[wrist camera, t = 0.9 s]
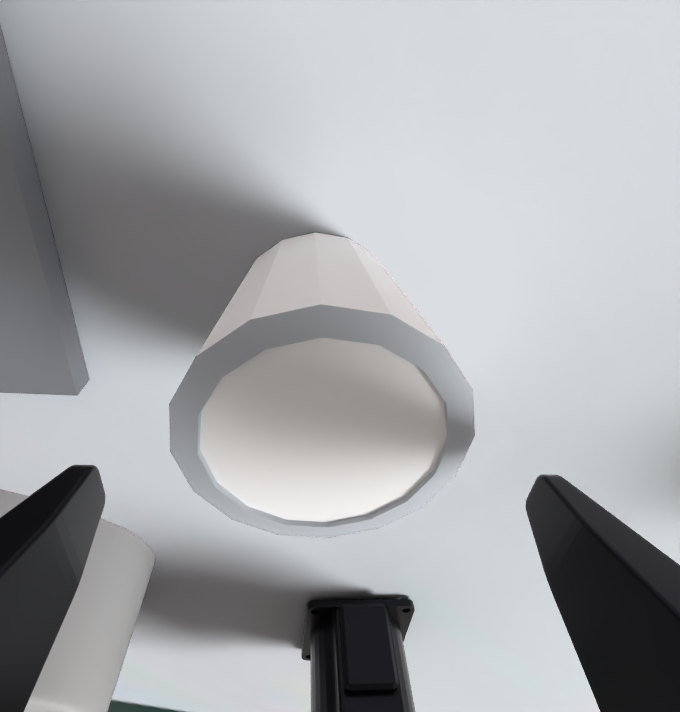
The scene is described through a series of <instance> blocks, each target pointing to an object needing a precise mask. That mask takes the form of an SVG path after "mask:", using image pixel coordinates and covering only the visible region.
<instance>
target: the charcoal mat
mask: <svg viewBox="0 0 680 712" xmlns="http://www.w3.org/2000/svg"><path fill="white" fill-rule="evenodd" d="M88 381H89V377H88V373H87V369H86V365H85V361H84V357H83V353H82V349H81V345H80V341H79V337H78V333H77V329H76V325H75V321H74V317H73V313H72V309H71V305H70V301H69V297H68V293H67V289H66V285H65V281H64V277H63V273H62V269H61V265H60V261H59V257H58V253H57V249H56V245H55V241H54V237H53V233H52V229H51V225H50V221H49V217H48V213H47V209H46V205H45V201H44V197H43V193H42V189H41V185H40V181H39V177H38V173H37V169H36V166H35V162H34V158H33V154H32V150H31V146H30V142H29V138H28V134H27V130H26V126H25V122H24V118H23V114H22V110H21V106H20V102H19V98H18V94H17V90H16V86H15V82H14V78H13V74H12V70H11V66H10V62H9V58H8V54H7V50H6V46H5V42H4V38H3V34H2V30H1V26H0V393H27V394H53V395H78V394H79V393H80V391H81V390H82V389H83V387H84V386H85V385H86V383H87V382H88Z"/></svg>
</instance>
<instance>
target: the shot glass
mask: <svg viewBox="0 0 680 712" xmlns="http://www.w3.org/2000/svg"><path fill="white" fill-rule="evenodd" d="M169 414H170V452H171V454H172V455H173V457H174V459H175V460H176V462H177V464H178V465H179V467H180V469H181V471H182V472H183V474H184V476H185V477H186V479H187V481H188V483H189V484H190V486H191V488H192V489H193V491H194V492H195V493H197V494H198V495H199V496H201V497H202V498H204V499H205V500H206V501H208V502H209V503H210V504H212V505H213V506H214V507H216V508H217V509H218V510H220V511H221V512H222V513H224V514H225V515H227V516H228V517H229V518H231V519H232V520H235V521H238V522H241V523H244V524H247V525H250V526H253V527H256V528H259V529H262V530H265V531H268V532H271V533H274V534H277V535H288V536H305V537H322V538H331V537H336V536H341V535H346V534H352V533H357V532H362V531H368V530H373V529H378V528H380V527H382V526H384V525H386V524H388V523H390V522H393V521H395V520H397V519H399V518H401V517H403V516H405V515H407V514H409V513H411V512H413V511H416V510H418V509H420V508H422V507H423V506H424V505H425V504H426V503H427V502H428V501H429V500H430V499H431V498H432V497H434V496H435V495H436V494H437V493H438V492H439V491H440V490H441V489H442V488H443V487H444V486H445V485H447V484H448V483H449V482H450V481H451V480H452V479H453V478H454V477H455V476H456V474H457V472H458V470H459V468H460V466H461V464H462V462H463V459H464V457H465V455H466V453H467V451H468V449H469V447H470V445H471V442H472V440H473V438H474V436H475V429H474V407H473V390H472V388H471V386H470V385H469V383H468V382H467V380H466V379H465V377H464V375H463V374H462V372H461V371H460V369H459V368H458V366H457V364H456V363H455V361H454V360H453V358H452V357H451V355H450V354H449V352H448V350H447V349H446V347H445V346H444V344H443V343H442V342H441V341H440V339H439V338H438V337H437V335H436V334H435V333H434V332H433V330H432V329H431V328H430V326H429V325H428V324H427V322H426V321H425V320H424V319H423V317H422V316H421V315H420V313H419V312H418V311H417V309H416V308H415V307H414V306H413V304H412V303H411V302H410V300H409V299H408V298H407V296H406V295H405V294H404V293H403V291H402V290H401V289H400V287H399V286H398V285H397V283H396V282H395V281H394V280H393V278H392V277H391V276H390V274H389V273H388V272H387V270H386V269H385V268H384V267H383V265H382V264H381V263H380V261H379V260H378V259H377V257H376V256H375V255H374V254H372V253H371V252H369V251H367V250H366V249H364V248H363V247H361V246H360V245H358V244H357V243H355V242H353V241H352V240H350V239H349V238H345V237H339V236H334V235H328V234H322V233H316V232H314V233H310V234H306V235H301V236H297V237H292V238H288V239H283V240H281V241H280V242H279V243H277V244H276V245H275V246H273V247H272V248H270V249H269V250H268V251H266V252H265V253H263V254H262V255H261V256H259V257H258V258H257V259H256V260H255V262H254V264H253V265H252V267H251V268H250V270H249V272H248V273H247V275H246V276H245V278H244V280H243V281H242V283H241V285H240V286H239V288H238V289H237V291H236V293H235V294H234V296H233V298H232V299H231V301H230V302H229V304H228V306H227V307H226V309H225V310H224V312H223V314H222V315H221V317H220V319H219V320H218V322H217V323H216V325H215V327H214V328H213V330H212V332H211V333H210V335H209V336H208V338H207V340H206V341H205V343H204V344H203V346H202V348H201V349H200V351H199V353H198V354H197V356H196V357H195V359H194V361H193V363H192V365H191V366H190V368H189V370H188V372H187V373H186V375H185V377H184V379H183V381H182V382H181V384H180V386H179V388H178V389H177V391H176V393H175V395H174V396H173V398H172V400H171V402H170V404H169Z"/></svg>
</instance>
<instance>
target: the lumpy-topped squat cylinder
mask: <svg viewBox="0 0 680 712" xmlns="http://www.w3.org/2000/svg"><path fill="white" fill-rule="evenodd" d="M28 497H29V496H26V495H22V494H18V493H14V492H9V491H5V490H0V517H2V516H3V515H4V514H6V513H7V512H8V511H10V510H11V509H13V508H14V507H15V506H17V505H18V504H19V503H21V502H22V501H24V500H25V499H26V498H28ZM154 564H155V556H154V553H153V551H152V550H151V548H150V547H149V546H148V545H147V543H146V542H144V541H143V540H142V539H141V538H140V537H138V536H137V535H135V534H134V533H132V532H130V531H129V530H127V529H125V528H123V527H120V526H118V525H116V524H113V523H111V522H108V521H105V520H102V519H100V521H99V524H98V527H97V530H96V533H95V537H94V540H93V543H92V546H91V549H90V552H89V556H88V559H87V562H86V565H85V568H84V571H83V574H82V577H81V580H80V583H79V586H78V588H77V591H76V593H75V596H74V598H73V600H72V603H71V605H70V607H69V610H68V612H67V614H66V616H65V619H64V621H63V623H62V626H61V628H60V630H59V632H58V635H57V637H56V639H55V642H54V644H53V646H52V648H51V651H50V653H49V655H48V658H47V660H46V662H45V664H44V667H43V669H42V671H41V674H40V676H39V678H38V680H37V683H36V685H35V687H34V690H33V692H32V694H31V696H30V699H29V701H28V703H27V706H26V708H25V710H24V712H107V710H108V707H109V704H110V701H111V698H112V695H113V693H114V690H115V687H116V684H117V681H118V677H119V674H120V671H121V668H122V665H123V662H124V658H125V655H126V652H127V649H128V646H129V642H130V639H131V636H132V633H133V630H134V626H135V623H136V620H137V617H138V614H139V611H140V608H141V605H142V601H143V598H144V595H145V592H146V589H147V586H148V583H149V580H150V576H151V573H152V570H153V567H154Z"/></svg>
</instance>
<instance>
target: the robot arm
mask: <svg viewBox="0 0 680 712" xmlns="http://www.w3.org/2000/svg"><path fill="white" fill-rule="evenodd" d="M104 504H105V492H104V488H103V484H102V481H101V477H100V473H99V470H98V468H97V467H96V466H94V465H73V466H71V467H69V468H67V469H66V470H65V471H63V472H62V473H60V474H59V475H58V476H56V477H55V478H54V479H52V480H51V481H50V482H48V483H47V484H45V485H44V486H43V487H41V488H40V489H39V490H37V491H36V492H34V493H33V494H32V495H30V496H29V497H28V498H26V499H25V500H24V501H22V502H21V503H19V504H18V505H17V506H15V507H14V508H13V509H11V510H10V511H8V512H7V513H6V514H4V515H3V516H2V517H0V712H24V710H25V708H26V706H27V703H28V701H29V699H30V696H31V694H32V692H33V690H34V687H35V685H36V683H37V680H38V678H39V676H40V674H41V671H42V669H43V667H44V664H45V662H46V660H47V658H48V655H49V653H50V651H51V648H52V646H53V644H54V642H55V639H56V637H57V635H58V632H59V630H60V628H61V626H62V623H63V621H64V619H65V616H66V614H67V612H68V610H69V607H70V605H71V603H72V600H73V598H74V596H75V593H76V591H77V588H78V586H79V583H80V580H81V577H82V574H83V571H84V568H85V565H86V562H87V559H88V556H89V552H90V549H91V546H92V543H93V540H94V537H95V533H96V530H97V527H98V524H99V521H100V518H101V514H102V511H103V508H104ZM526 511H527V515H528V518H529V522H530V525H531V528H532V532H533V535H534V538H535V542H536V545H537V548H538V552H539V555H540V558H541V562H542V565H543V568H544V572H545V575H546V578H547V581H548V583H549V586H550V588H551V591H552V594H553V596H554V599H555V601H556V604H557V606H558V608H559V611H560V613H561V616H562V618H563V621H564V623H565V626H566V628H567V630H568V633H569V635H570V638H571V640H572V643H573V645H574V648H575V650H576V653H577V655H578V657H579V660H580V662H581V665H582V667H583V670H584V672H585V675H586V677H587V680H588V682H589V684H590V687H591V689H592V692H593V694H594V697H595V699H596V702H597V704H598V707H599V709H600V711H601V712H680V565H679V564H678V563H676V562H675V561H674V560H672V559H671V558H669V557H668V556H667V555H665V554H664V553H663V552H661V551H660V550H659V549H657V548H656V547H655V546H653V545H652V544H651V543H649V542H648V541H647V540H645V539H644V538H643V537H641V536H640V535H639V534H637V533H636V532H635V531H633V530H632V529H631V528H629V527H628V526H627V525H625V524H624V523H623V522H621V521H620V520H619V519H617V518H616V517H615V516H613V515H612V514H611V513H609V512H608V511H607V510H605V509H604V508H603V507H601V506H600V505H599V504H597V503H596V502H595V501H593V500H592V499H591V498H589V497H588V496H587V495H585V494H584V493H583V492H581V491H580V490H579V489H577V488H576V487H575V486H573V485H572V484H571V483H569V482H568V481H567V480H565V479H564V478H562V477H561V476H558V475H540V476H539V477H537V479H536V481H535V483H534V485H533V487H532V489H531V491H530V493H529V495H528V497H527V500H526ZM413 613H414V604H413V601H412V600H409V599H385V600H315V601H311V602H309V603H307V607H306V616H305V625H304V634H303V643H302V659H303V660H311V712H415V708H414V702H413V697H412V691H411V685H410V680H409V674H408V668H407V663H406V657H405V651H404V646H403V641H404V638H405V635H406V632H407V630H408V627H409V624H410V621H411V618H412V616H413Z"/></svg>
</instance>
